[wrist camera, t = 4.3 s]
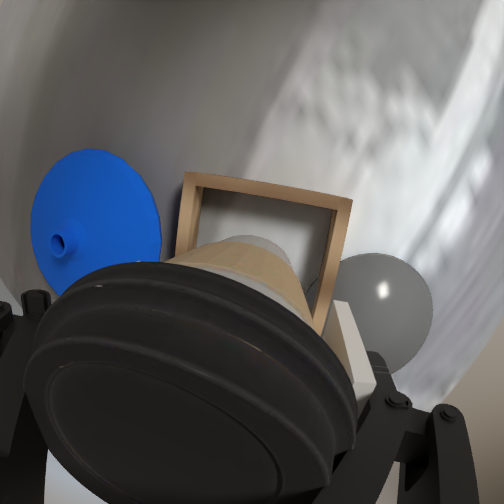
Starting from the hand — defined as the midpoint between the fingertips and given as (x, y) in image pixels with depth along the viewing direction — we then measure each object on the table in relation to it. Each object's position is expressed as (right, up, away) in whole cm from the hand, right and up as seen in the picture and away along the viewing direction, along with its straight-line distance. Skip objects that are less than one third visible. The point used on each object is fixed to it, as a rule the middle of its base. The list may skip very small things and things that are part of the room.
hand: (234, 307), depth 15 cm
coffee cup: (+1, +1, +5) cm, 5 cm away
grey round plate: (+12, -4, +11) cm, 17 cm away
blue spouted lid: (-14, +5, +13) cm, 20 cm away
